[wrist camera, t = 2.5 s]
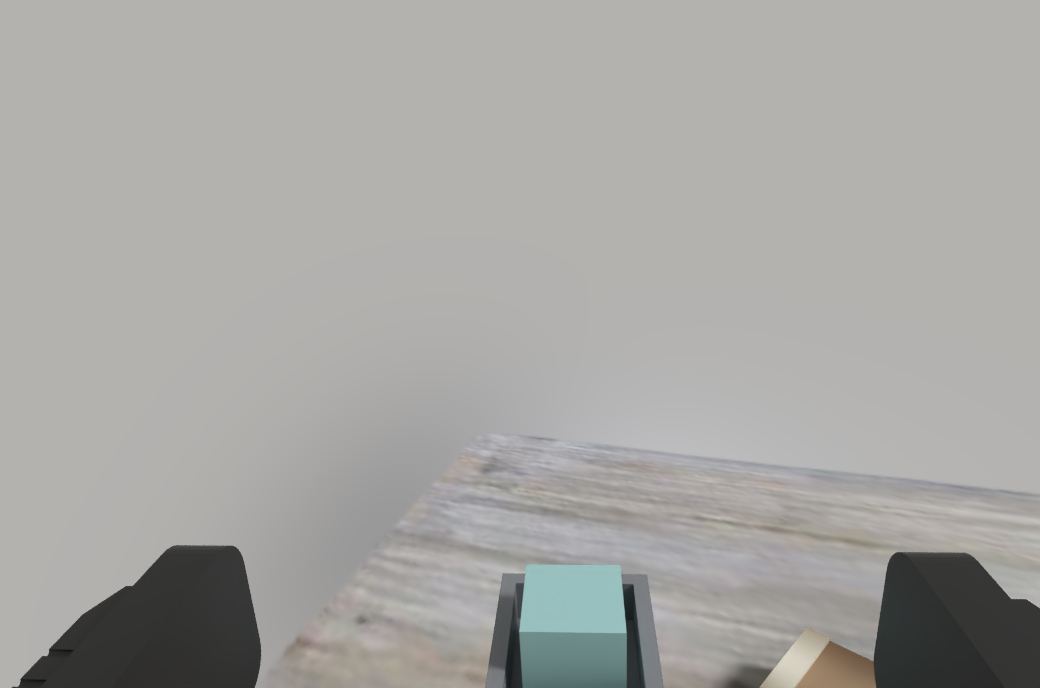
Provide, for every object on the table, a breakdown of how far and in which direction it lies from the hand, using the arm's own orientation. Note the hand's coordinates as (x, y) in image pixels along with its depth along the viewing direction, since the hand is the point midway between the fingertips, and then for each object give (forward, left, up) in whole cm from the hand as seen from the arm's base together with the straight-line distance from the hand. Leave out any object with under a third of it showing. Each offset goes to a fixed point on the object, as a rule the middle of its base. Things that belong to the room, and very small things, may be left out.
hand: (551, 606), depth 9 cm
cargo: (-8, -6, -11) cm, 15 cm away
